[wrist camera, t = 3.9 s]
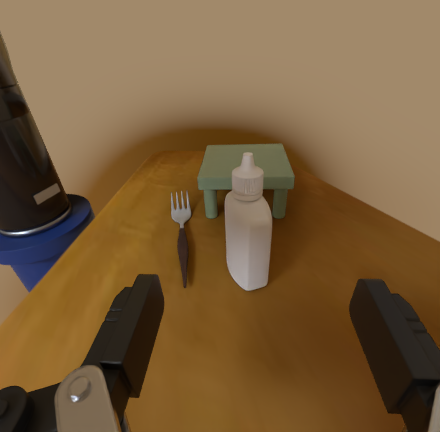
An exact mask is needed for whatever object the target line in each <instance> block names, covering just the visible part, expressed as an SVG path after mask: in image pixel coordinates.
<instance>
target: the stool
mask: <svg viewBox="0 0 440 432" xmlns="http://www.w3.org/2000/svg"><path fill="white" fill-rule="evenodd" d="M246 152H250V153H252V154H253V158H254V164H255V166H257V167H259V168H261V169H262V170H263V172H264V176H263V189H274V198H273V211H272V216H273V217H275V218H278V219H280V218H283V217H284V216H285V210H286V202H287V193H288V189H293V187H294V179H295V176H294V174H293V171H292V168H291V166H290V163H289V161H288V158H287V155H286V153H285V150H284V148H283V145H282V144H245V145H208V146H207V148H206V152H205V155H204V158H203V162H202V165H201V168H200V171H199V175H198V178H197V179H198V189H199V190H203V191H204V202H205V213H206V217H207V218H211V219H212V218H216V217H217V216H218V208H217V191H216V190H232V171H233V170H234V169H235V168H236V167H239V166H241V163H242V158H243V154H244V153H246Z"/></svg>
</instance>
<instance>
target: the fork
mask: <svg viewBox="0 0 440 432" xmlns="http://www.w3.org/2000/svg"><path fill="white" fill-rule="evenodd" d="M186 191H187V190H186ZM181 193H182V191H181ZM176 200H177V209H176V210H175V209H174V204H173V197H172V192H171V216H172V219H173V220H174V221H175V222H177V223H179V224H180V231H179V238H178V254H179V259H180V264H181V270H182V277H183V284H184V288H186V282H187V262H188V243H187V238H186V235H185V231H184V226H183V225H184V223H185V222H186V221H187V220H189V219H190V217H191V209H190V204H189V198H188V193H187V209H186V208H185V205H184V200H183V194H182V209H180V207H179V202H178V196H177V191H176Z"/></svg>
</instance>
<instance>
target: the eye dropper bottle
mask: <svg viewBox="0 0 440 432" xmlns="http://www.w3.org/2000/svg"><path fill="white" fill-rule="evenodd" d="M263 176H264V172H263V170H262V169H261V168H259V167H257V166H255V164H254V158H253V154H252V153H250V152H246V153H244V154H243V158H242V163H241V166H239V167H236V168H235V169H234V170H233V171H232V191H230V192H229V193H228V194H227V195H226V198H225V230H226V255H227V265H228V269H229V272H230V274H231V276H232V277H233V279H234V280H235V281H236V283H237V284H238V285H239V286H240V287H242V288H243V289H244V290H247V291H250V290H254V289H258V288H261V287H264V286H266V285H267V283H268V273H269V262H270V249H271V236H272V215H271V211H270V208H269V205H268V203H267V201H266V200H265V198H264V197H263V196H262V194H263Z"/></svg>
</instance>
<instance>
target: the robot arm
mask: <svg viewBox="0 0 440 432" xmlns="http://www.w3.org/2000/svg"><path fill="white" fill-rule="evenodd" d="M17 83H18V81H17V79H16V77H15V74H14V72H13V69H12V65H11V61H10V58H9V54H8V50H7V47H6V45H5V42H4V39H3V37H2V35H1V32H0V234H1V235H2V236H4V237H8V238H24V237H29V236H34V235H37V234H40V233H43V232H46V231H48V230H50V229H53V228H54V227H56V226H58V225H60V224H61V223H63V222H64V221H65V220H66V219H67V218H68V217H69V216H70V215H71V213H72V210H73V208H72V205H71V203H70V201H69V200H68V198H67V196H66V193H65V191H64V189H63V186H62V184H61V182H60V179H59V177H58V174H57V172H56V170H55V167H54V165H53V163H52V160H51V158H50V156H49V153H48V151H47V149H46V146H45V144H44V142H43V139H42V137H41V135H40V133H39V130H38V128H37V126H36V123H35V121H34V119H33V116H32V114H31V111H30V109H29V107H28V105H27V102H26V100H25V98H24V96H23V93H22V91H21V88H20V86H19V84H17ZM163 311H164V296H163V292H162V288H161V284H160V280H159V277H158V275H156V274H139V275H138V276H137V278H136V280H135V282H134V284H133V286H132V287H125V288H124V289H123V290H122V291H121V292H120V293H119V294H118V295H117V296H116V297H115V299H114V301H113V303H112V305H111V307H110V311H109V312H108V313H107V315H106V317H105V321H104V322H103V323H102V325H101V328H100V330H99V332H98V334H97V336H96V338H95V340H94V342H93V344H92V346H91V348H90V350H89V352H88V354H87V356H86V358H85V360H84V362H83V363H82V365H81V366H80V367H79V368H77V369H75V370H74V371H72V372H71V373H70V374H69V375H67V376H66V377H65V379H64V380H63V381H62V382H60V383H58V384H55V385H51V386H48V387H45V388H41V389H38V390H35V391H31V392H28V393H27V392H26V391H25V390H24V389H23V388H21V387H19V386H9V387H6V388H3V389H1V390H0V432H131V429H130V426H129V422H128V419H127V416H126V412H125V409H126V406H127V402H128V399H129V397H133V398H139V396H140V392H141V389H142V385H143V382H144V378H145V375H146V371H147V368H148V364H149V361H150V357H151V354H152V350H153V347H154V343H155V340H156V336H157V333H158V329H159V326H160V322H161V319H162V315H163ZM349 312H350V317H351V320H352V323H353V326H354V328H355V331H356V333H357V336H358V338H359V341H360V343H361V346H362V349H363V351H364V354H365V356H366V359H367V361H368V364H369V366H370V369H371V371H372V374H373V377H374V379H375V382H376V384H377V387H378V389H379V392H380V394H381V397H382V400H383V402H384V405H385V407H386V410H387V412H388V413H391V414H401V415H402V418H403V420H404V422H405V425H404V427H403V430H402V432H440V350H439V348H438V347H437V345H436V344H435V342H434V340H433V339H432V337H431V336H430V334H429V333H427V330H426V328H425V326H424V325H423V323H422V322H420V319H419V317H418V315H417V314H416V312H415V311H414V309H413V308H412V306H411V305H410V304H409V303H408V302H407V301H406V300H404V299H403V298H402V297H401V296H400V295H399V294H391V292H390V291H389V289H388V287H387V285H386V284H385V282H384V281H383V280H381V279H359V280H358V281H357V284H356V287H355V290H354V293H353V296H352V298H351V301H350V305H349Z"/></svg>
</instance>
